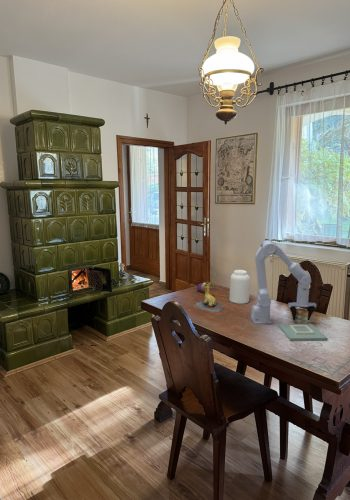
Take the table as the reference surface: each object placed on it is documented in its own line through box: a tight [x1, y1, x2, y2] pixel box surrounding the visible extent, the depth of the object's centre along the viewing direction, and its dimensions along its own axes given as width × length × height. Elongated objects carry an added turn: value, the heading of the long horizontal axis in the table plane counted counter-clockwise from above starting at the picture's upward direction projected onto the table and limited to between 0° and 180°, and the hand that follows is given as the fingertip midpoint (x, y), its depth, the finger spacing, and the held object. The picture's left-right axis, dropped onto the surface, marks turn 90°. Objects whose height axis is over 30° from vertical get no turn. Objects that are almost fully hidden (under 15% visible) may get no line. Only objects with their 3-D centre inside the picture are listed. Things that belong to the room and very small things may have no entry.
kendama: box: [196, 283, 216, 298], centre depth 235 cm, size 6×6×20 cm
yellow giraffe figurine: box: [194, 281, 226, 313], centre depth 210 cm, size 16×18×16 cm
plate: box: [277, 323, 329, 342], centre depth 172 cm, size 18×18×2 cm
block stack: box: [294, 307, 309, 324], centre depth 184 cm, size 5×5×8 cm
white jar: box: [228, 269, 251, 304], centre depth 220 cm, size 12×12×20 cm
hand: (301, 319), depth 185 cm, fingers open, 7 cm apart
